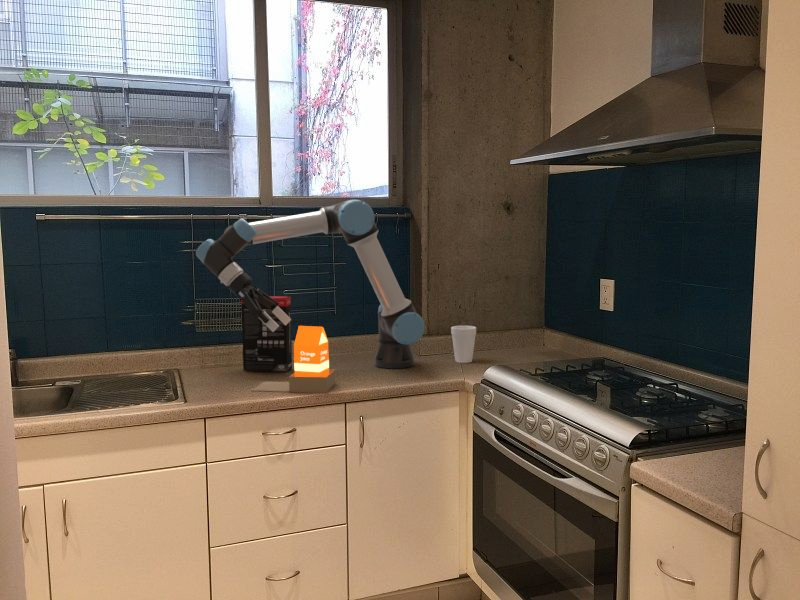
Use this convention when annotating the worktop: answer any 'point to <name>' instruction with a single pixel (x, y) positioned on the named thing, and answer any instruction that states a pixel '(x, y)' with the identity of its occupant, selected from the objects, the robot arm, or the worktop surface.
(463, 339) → the foam cup
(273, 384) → the kraft mailer box
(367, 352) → the worktop surface
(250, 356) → the graphics card box
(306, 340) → the orange juice
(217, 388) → the worktop surface
